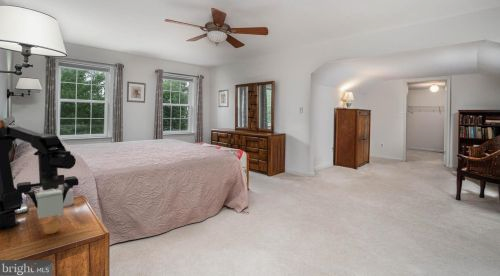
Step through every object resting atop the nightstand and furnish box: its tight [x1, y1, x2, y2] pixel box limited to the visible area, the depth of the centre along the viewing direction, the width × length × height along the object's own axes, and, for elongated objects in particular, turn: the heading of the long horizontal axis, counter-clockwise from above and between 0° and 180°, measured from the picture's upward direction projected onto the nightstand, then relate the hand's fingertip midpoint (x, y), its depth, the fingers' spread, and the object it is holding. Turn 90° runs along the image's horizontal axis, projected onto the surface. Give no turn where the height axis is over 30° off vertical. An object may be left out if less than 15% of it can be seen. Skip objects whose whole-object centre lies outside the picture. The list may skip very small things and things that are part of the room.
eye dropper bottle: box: [61, 188, 74, 208], centre depth 130 cm, size 4×6×12 cm
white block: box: [35, 189, 64, 219], centre depth 100 cm, size 8×8×8 cm
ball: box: [43, 220, 61, 235], centre depth 101 cm, size 5×5×5 cm
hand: (50, 205), depth 100 cm, fingers closed on white block, 8 cm apart
